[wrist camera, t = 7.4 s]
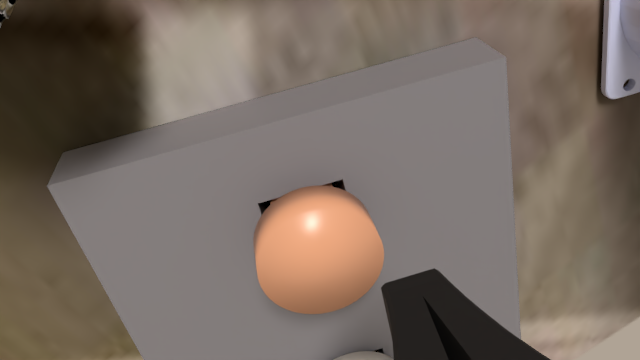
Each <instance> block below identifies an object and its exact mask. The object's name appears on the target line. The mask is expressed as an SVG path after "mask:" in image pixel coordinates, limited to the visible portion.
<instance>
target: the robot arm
mask: <svg viewBox="0 0 640 360" xmlns="http://www.w3.org/2000/svg"><path fill="white" fill-rule="evenodd" d="M628 79H629V82H628V84H627V85H626V86H625V87H623V85H624V83H625V82H626V80H628ZM601 91H602V94H603V95H604V96H606V97H608V98H610V99H618V98H621V97H625V96H628V95H632V94H635V93H639V92H640V0H604V23H603V49H602V75H601ZM381 291H382V296H383V300H384V305H385V309H386V314H387V318H388V323H389V327H390V332H391V336H392V342H393V356H394V360H550V359H549V358H547V357H546V356H544V355H542V354H541V353H539V352H538V351H536V350H535V349H533V348H532V347H531V346H529V345H528V344H526V343H525V342H523V341H522V340H521V339H519V338H518V337H516V336H515V335H514V334H512V333H511V332H509V331H508V330H507V329H505V328H504V327H503V326H502V325H500V324H499V323H498V322H496V321H495V320H494V319H493V318H491V317H490V316H489V315H488V314H486V313H485V312H484V311H483V310H481V309H480V308H479V307H478V306H477V305H475V304H474V303H473V302H472V301H471V300H470V299H468V298H467V297H466V296H465V295H464V294H463V293H462V292H461V291H459V290H458V289H457V288H456V287H455V286H454V285H453V284H452V283H451V282H450V281H449V280H448V279H447V278H446V277H445V276H444V275H443V274H442V273H441V272H440V271H438V270H436V269H430V270H427V271H424V272H420V273H417V274H414V275H410V276H407V277H404V278H400V279H397V280H394V281H390V282H387V283H385V284H384V285H383V286H382V287H381Z"/></svg>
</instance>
